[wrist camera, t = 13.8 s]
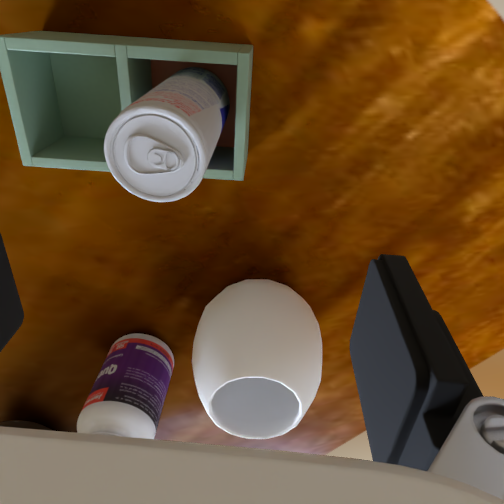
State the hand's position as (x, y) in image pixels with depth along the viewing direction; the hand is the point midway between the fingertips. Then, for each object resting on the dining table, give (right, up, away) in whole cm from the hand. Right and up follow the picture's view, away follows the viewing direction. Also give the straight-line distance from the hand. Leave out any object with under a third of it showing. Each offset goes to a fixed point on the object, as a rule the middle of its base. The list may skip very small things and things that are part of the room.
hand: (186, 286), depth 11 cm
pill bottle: (-12, -12, +41) cm, 45 cm away
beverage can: (-3, +14, +24) cm, 28 cm away
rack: (-7, +14, +25) cm, 30 cm away
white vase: (+3, -6, +37) cm, 38 cm away
